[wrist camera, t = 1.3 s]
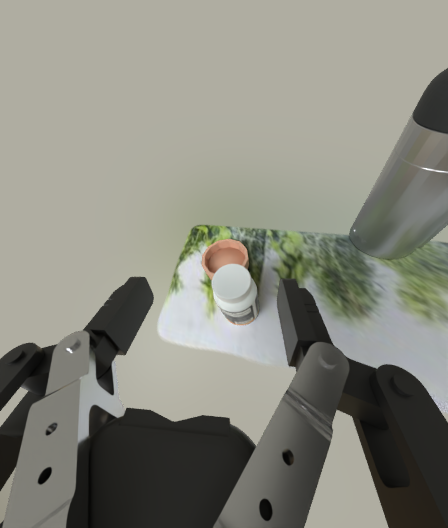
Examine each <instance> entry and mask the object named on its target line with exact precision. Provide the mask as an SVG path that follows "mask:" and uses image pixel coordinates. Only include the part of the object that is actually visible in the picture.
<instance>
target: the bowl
mask: <svg viewBox="0 0 448 528" xmlns="http://www.w3.org/2000/svg"><path fill="white" fill-rule="evenodd" d="M227 264H239V265H241V266H243V267H245V268H246V269H247V270H248V267H249V260H248V253H247V248H246V247H245V246H244V245H243V244H242V243H241V242H239V241H235V240H232V239H226V240H220V241H217V242H215V243H214V244H212V245H210V246H209V247H208V248H207V249H206V251H205V252H204V254H203V255H202V267H203V268H204V270H205V272H206V273H207V275H208V276H209V278H210V279H211V280H212V279H213V276H214V274H215V272H216V271H217V270H218V269H219V268H221V267H222V266H225V265H227Z"/></svg>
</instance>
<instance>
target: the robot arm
mask: <svg viewBox="0 0 448 528" xmlns="http://www.w3.org/2000/svg"><path fill="white" fill-rule="evenodd" d="M447 225H448V68H447V69H446V70H444V71H443V72H441V73H440V74H439V75H437V76H436V77H435V78H434V79H433V80H432V81H431V83H430V84H429V85H428V87H427V88H426V90H425V91H424V93H423V95H422V97H421V99H420V101H419V102H418V104H417V106H416V108H415V110H414V112H413V114H412V115H411V117H410V119H409V121H408V123H407V125H406V127H405V128H404V130H403V132H402V134H401V136H400V138H399V140H398V141H397V144H396V145H395V147H394V149H393V151H392V153H391V155H390V157H389V158H388V160H387V162H386V164H385V166H384V168H383V170H382V172H381V173H380V176H379V177H378V179H377V181H376V183H375V185H374V187H373V188H372V190H371V192H370V194H369V196H368V198H367V200H366V202H365V203H364V205H363V207H362V209H361V211H360V213H359V214H358V216H357V218H356V220H355V222H354V224H353V226H352V228H351V229H350V233H349V234H350V239H351V241H352V243H353V244H354V245H355V246H356V247H357V248H358V249H359V250H361V251H362V252H364V253H366V254H368V255H371V256H374V257H377V258H383V259H398V258H402V257H405V256H407V255H409V254H411V253H412V252H413V251H414V250H415V249H416V248H420V247H423V246H424V245H425V244H426V243H428V242H429V241H430V240H431V239H432V238H433V237H434V236H436V235H437V234H438V233H439V232H440V231H441V230H442V229H443V228H445V227H446V226H447ZM153 299H154V297H153V293H152V291H151V288H150V286H149V284H148V282H147V280H146V278H145V277H130V278H129V279H128V281H127V282H126V283H125V284H124V285H122V286H121V287H119V288H118V289H117V290H115V292H113V294H112V295H111V296H110V297H109V300H107V301H106V302H105V304H104V306H102V307H101V308H100V310H99V311H98V312H97V313H96V315H95V316H94V317H93V319H92V320H91V321H90V322H89V323H88V325H87V326H86V327H85V328H84V329H83V331H78V332H74V333H72V334H70V335H68V336H67V337H65V338H64V339H63V340H62V341H60V343H58V344H57V345H52V346H48V347H45V348H40V347H39V346H37V345H36V344H34V343H26V344H22V345H20V346H18V347H16V348H14V349H12V350H11V351H9V352H8V353H7V354H6V355H4V356H3V357H2V358H1V359H0V411H1V410H2V408H3V407H4V406H5V405H6V404H7V402H8V401H9V400H10V399H11V397H12V396H13V395H14V394H15V393H16V391H17V390H18V389H19V388H20V387H22V388H24V389H26V390H28V392H27V394H26V395H25V396H24V397H23V399H22V400H21V401H20V403H19V404H18V405H17V407H16V408H15V409H14V410H13V412H12V413H11V414H10V416H9V417H8V418H7V419H6V421H5V422H4V423H3V425H2V426H1V427H0V491H1V489H2V488H3V486H4V484H5V483H6V481H7V480H8V478H9V477H10V475H11V474H12V472H13V471H14V469H15V467H16V471H15V475H14V479H13V483H12V488H11V492H10V496H9V501H8V505H7V509H6V514H5V518H4V521H3V522H2V523H1V524H0V528H304V526H305V523H306V520H307V516H308V513H309V510H310V507H311V504H312V500H313V497H314V494H315V490H316V488H317V484H318V481H319V478H320V475H321V472H322V468H323V465H324V462H325V459H326V456H327V452H328V449H329V446H330V443H331V439H332V433H333V430H332V422H333V419H334V416H335V413H336V410H340V411H342V412H344V413H346V414H348V415H350V416H352V418H353V420H354V424H355V426H356V430H357V433H358V436H359V439H360V442H361V445H362V448H363V451H364V454H365V457H366V460H367V463H368V466H369V469H370V472H371V475H372V478H373V481H374V484H375V487H376V490H377V493H378V497H379V500H380V503H381V506H382V508H383V512H384V515H385V518H386V521H387V524H388V527H389V528H448V422H447V421H446V419H445V418H444V416H443V415H442V413H441V412H440V410H439V408H438V407H437V405H436V404H435V402H434V401H433V399H432V398H431V396H430V395H429V393H428V391H427V390H426V388H425V387H424V386H423V385H422V383H421V382H420V381H419V380H418V379H417V378H416V377H414V376H413V375H412V374H411V373H409V372H408V371H406V370H404V369H402V368H400V367H398V366H394V365H388V364H386V365H382V366H380V367H379V368H378V369H376V368H373V367H370V366H368V365H365V364H362V363H359V362H356V361H354V360H351V359H349V358H347V357H346V356H345V355H344V354H343V353H342V352H341V351H340V350H339V349H338V348H336V347H335V346H334V345H333V343H332V341H331V339H330V336H329V334H328V332H327V329H326V327H325V324H324V322H323V320H322V317H321V315H320V313H319V310H318V308H317V306H316V303H315V300H314V298H313V296H312V295H311V294H310V293H309V291H308V290H307V289H306V288H299V287H298V284H297V282H296V279H280V284H279V290H278V296H277V308H278V313H279V318H280V323H281V329H282V334H283V339H284V344H285V350H286V355H287V360H288V365H289V366H292V367H296V372H297V373H296V375H295V377H294V378H293V380H292V382H291V384H290V386H289V388H288V390H287V391H286V393H285V394H284V396H283V398H282V400H281V401H280V403H279V405H278V407H277V409H276V411H275V413H274V415H273V416H272V418H271V420H270V422H269V424H268V426H267V428H266V429H265V431H264V433H263V435H262V437H261V439H260V441H259V443H258V444H257V446H256V445H255V444H254V443H253V441H252V440H251V439H250V438H249V437H248V436H247V435H246V434H245V433H244V432H243V431H241V430H240V429H239V428H237V427H235V426H233V425H231V424H230V419H229V418H225V417H214V416H204V415H202V416H198V417H194V418H190V419H186V420H182V421H177V422H173V421H170V420H169V419H167V418H165V417H163V416H161V415H159V414H157V413H155V412H153V411H151V410H144V409H134V408H126V411H125V409H124V407H123V405H122V403H121V400H120V398H119V391H118V382H117V374H116V364H115V361H114V358H115V356H116V355H126V353H127V351H128V349H129V347H130V345H131V343H132V342H133V340H134V338H135V336H136V334H137V332H138V330H139V328H140V326H141V324H142V322H143V321H144V319H145V317H146V315H147V313H148V311H149V309H150V307H151V306H152V304H153Z"/></svg>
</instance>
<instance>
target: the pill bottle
mask: <svg viewBox="0 0 448 528" xmlns="http://www.w3.org/2000/svg"><path fill="white" fill-rule="evenodd" d="M212 288H213V290H214V291H213V294H214V300H215V302H216V304H217V305H218V307H219V308H220V309H221V311H222V312H223V314H224V315H225V317H226V318H227V319H228V321H230V322H231V323H233V324H235V325H239V326H242V325H247V324H249V323H251V322H252V321H254V320H255V318H256V317H257V315H258V312H259V302H258V293H257V286H256V284H255V282H254V280H253V279H252V278H251V276H250V273H249V271H248V270H247V269H246V268H245V267H243V266H241V265H239V264H227V265H225V266H222V267H221V268H219V269H218V270H217V271H216V272H215V274H214V276H213V279H212Z"/></svg>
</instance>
